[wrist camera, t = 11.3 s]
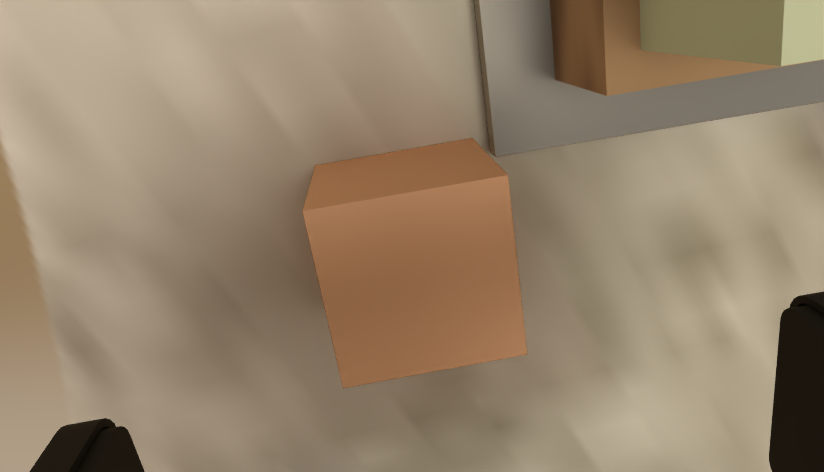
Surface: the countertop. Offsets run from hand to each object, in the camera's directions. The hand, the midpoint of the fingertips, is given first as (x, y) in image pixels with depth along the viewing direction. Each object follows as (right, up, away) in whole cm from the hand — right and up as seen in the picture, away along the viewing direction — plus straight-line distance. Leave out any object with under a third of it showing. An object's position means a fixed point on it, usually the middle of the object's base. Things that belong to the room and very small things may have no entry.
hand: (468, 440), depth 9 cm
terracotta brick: (-1, +3, +12) cm, 12 cm away
